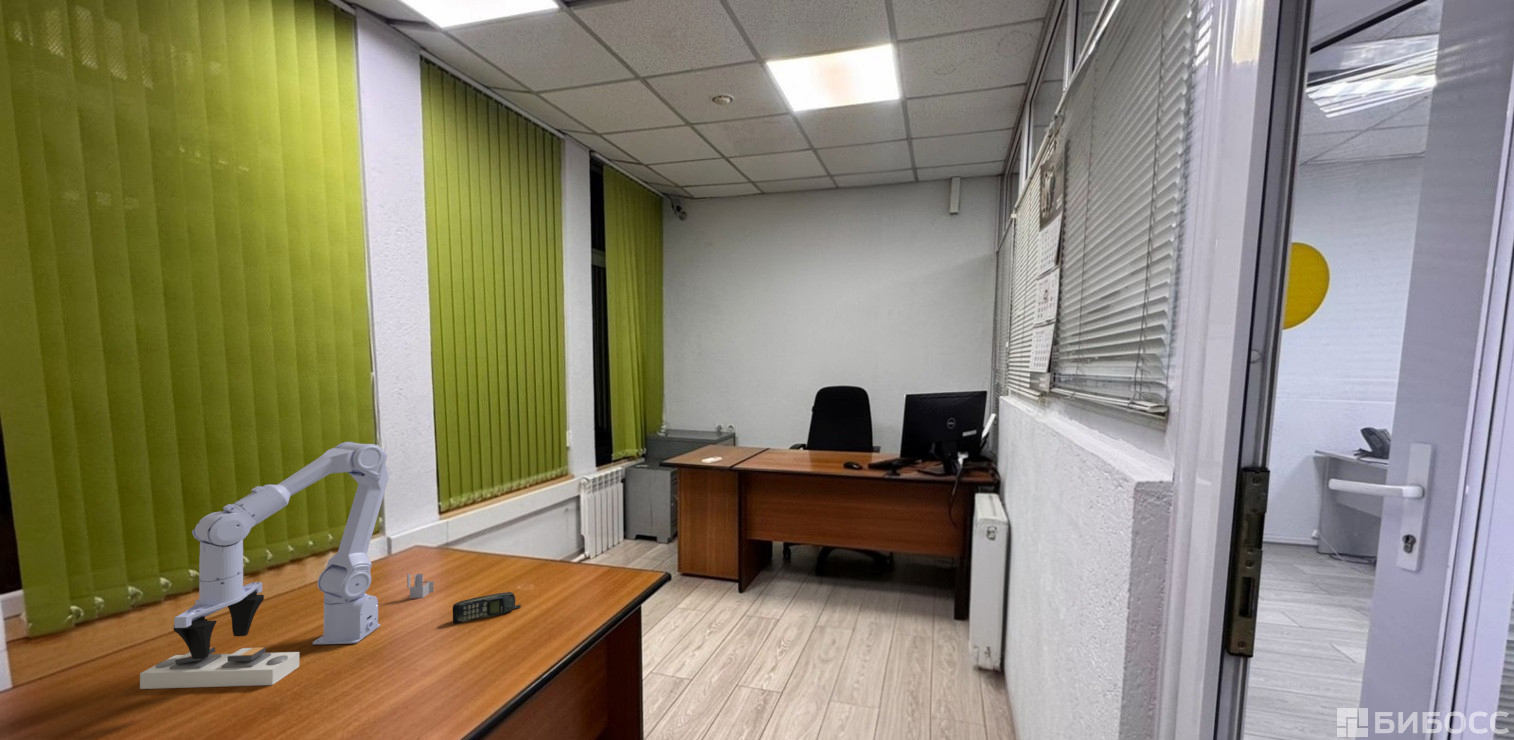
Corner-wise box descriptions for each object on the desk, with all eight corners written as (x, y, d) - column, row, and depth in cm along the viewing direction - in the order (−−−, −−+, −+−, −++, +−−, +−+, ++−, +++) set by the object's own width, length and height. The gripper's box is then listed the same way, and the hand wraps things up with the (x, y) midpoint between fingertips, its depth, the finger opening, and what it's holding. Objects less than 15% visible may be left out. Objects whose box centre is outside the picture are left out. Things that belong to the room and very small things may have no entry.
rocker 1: (215, 651, 100) (214, 646, 100) (199, 660, 97) (198, 655, 97) (192, 655, 99) (191, 650, 99) (175, 664, 96) (175, 659, 96)
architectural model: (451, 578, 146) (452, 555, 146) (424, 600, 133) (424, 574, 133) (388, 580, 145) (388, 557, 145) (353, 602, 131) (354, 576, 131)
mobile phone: (452, 606, 119) (521, 591, 126) (452, 601, 122) (520, 586, 129) (452, 626, 119) (521, 610, 126) (453, 621, 122) (520, 605, 129)
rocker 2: (265, 651, 100) (265, 646, 100) (251, 660, 97) (251, 655, 97) (242, 652, 100) (242, 647, 100) (227, 661, 97) (227, 656, 97)
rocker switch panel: (299, 666, 102) (299, 649, 102) (272, 684, 96) (272, 666, 96) (174, 669, 101) (175, 652, 101) (140, 688, 95) (140, 670, 95)
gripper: (237, 561, 102) (236, 627, 102) (155, 592, 88) (155, 669, 88) (273, 560, 102) (272, 626, 102) (198, 592, 88) (198, 668, 88)
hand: (221, 646), depth 95 cm, fingers open, 7 cm apart
